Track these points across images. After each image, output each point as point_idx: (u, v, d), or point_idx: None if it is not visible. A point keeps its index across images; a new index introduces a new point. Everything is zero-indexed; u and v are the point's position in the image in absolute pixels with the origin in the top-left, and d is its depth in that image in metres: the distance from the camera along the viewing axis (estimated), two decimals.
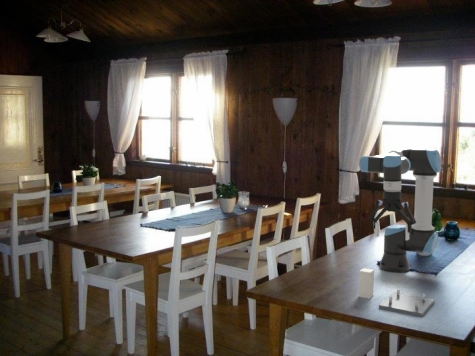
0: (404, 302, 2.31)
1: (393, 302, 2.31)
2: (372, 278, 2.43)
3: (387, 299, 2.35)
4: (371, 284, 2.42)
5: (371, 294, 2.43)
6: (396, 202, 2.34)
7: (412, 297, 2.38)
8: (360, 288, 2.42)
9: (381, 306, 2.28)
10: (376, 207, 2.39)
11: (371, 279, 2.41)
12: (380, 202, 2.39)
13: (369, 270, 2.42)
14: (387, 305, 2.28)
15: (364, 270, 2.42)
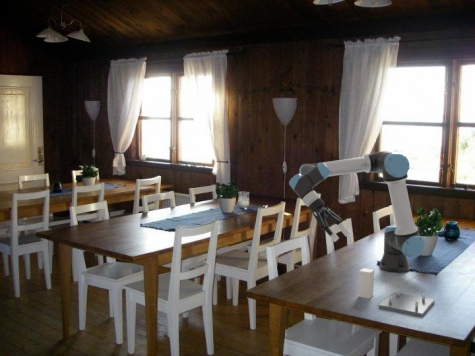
0: (404, 302, 2.31)
1: (393, 302, 2.31)
2: (372, 278, 2.43)
3: (387, 299, 2.35)
4: (371, 284, 2.42)
5: (371, 294, 2.43)
6: None
7: (412, 297, 2.38)
8: (360, 288, 2.42)
9: (381, 306, 2.28)
10: None
11: (371, 279, 2.41)
12: None
13: (369, 270, 2.42)
14: (387, 305, 2.28)
15: (364, 270, 2.42)
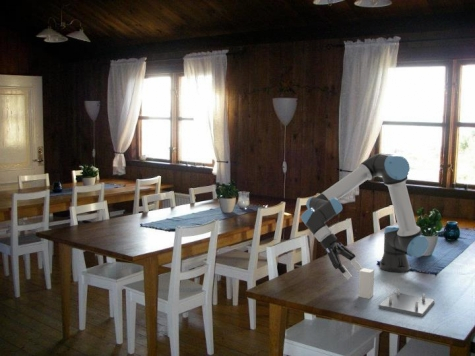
0: (404, 302, 2.31)
1: (393, 302, 2.31)
2: (372, 278, 2.43)
3: (387, 299, 2.35)
4: (371, 284, 2.42)
5: (371, 294, 2.43)
6: None
7: (412, 297, 2.38)
8: (360, 288, 2.42)
9: (381, 306, 2.28)
10: None
11: (371, 279, 2.41)
12: None
13: (369, 270, 2.42)
14: (387, 305, 2.28)
15: (364, 270, 2.42)
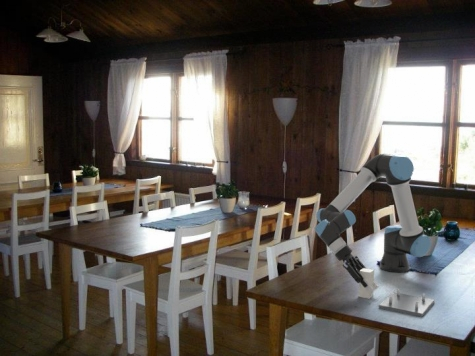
0: (404, 302, 2.31)
1: (393, 302, 2.31)
2: (372, 278, 2.43)
3: (387, 299, 2.35)
4: (371, 284, 2.42)
5: (371, 293, 2.43)
6: None
7: (412, 297, 2.38)
8: (360, 288, 2.42)
9: (381, 306, 2.28)
10: None
11: (371, 279, 2.41)
12: None
13: (369, 270, 2.42)
14: (387, 305, 2.28)
15: (364, 270, 2.42)
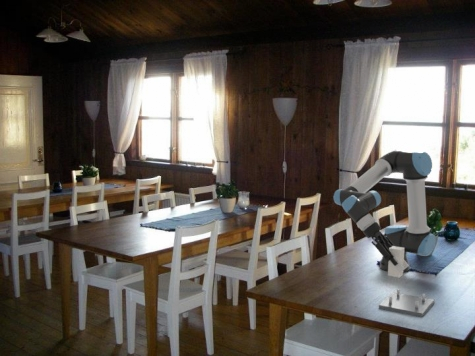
0: (404, 302, 2.31)
1: (393, 302, 2.31)
2: (403, 256, 2.31)
3: (387, 299, 2.35)
4: (401, 262, 2.30)
5: (401, 272, 2.31)
6: None
7: (412, 297, 2.38)
8: (389, 266, 2.31)
9: (381, 306, 2.28)
10: None
11: (401, 257, 2.30)
12: None
13: (399, 248, 2.31)
14: (387, 305, 2.28)
15: (394, 248, 2.31)
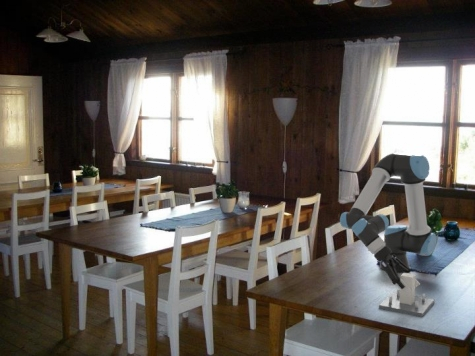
0: None
1: (393, 302, 2.31)
2: (414, 283, 2.31)
3: (387, 299, 2.35)
4: (413, 289, 2.30)
5: (413, 299, 2.31)
6: None
7: None
8: (401, 294, 2.30)
9: (381, 306, 2.28)
10: None
11: (413, 284, 2.29)
12: None
13: (410, 275, 2.30)
14: (387, 305, 2.28)
15: (405, 275, 2.30)
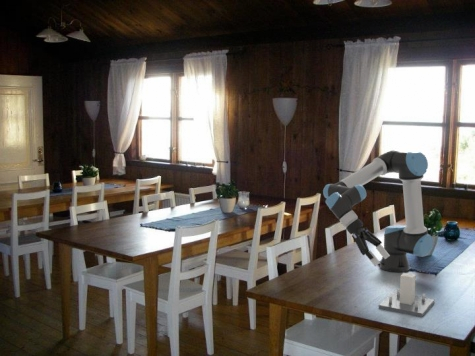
0: None
1: (393, 302, 2.31)
2: (414, 283, 2.31)
3: (387, 299, 2.35)
4: (413, 289, 2.30)
5: (413, 299, 2.31)
6: None
7: None
8: (401, 294, 2.30)
9: (381, 306, 2.28)
10: None
11: (413, 284, 2.29)
12: None
13: (410, 275, 2.30)
14: (387, 305, 2.28)
15: (405, 275, 2.30)
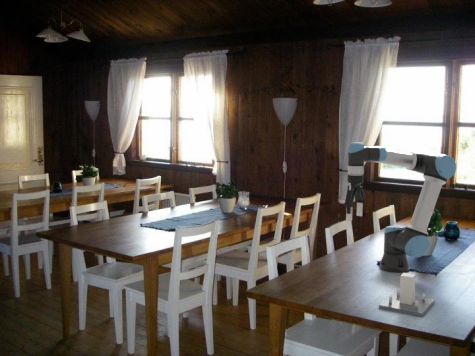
0: None
1: (393, 302, 2.31)
2: (414, 283, 2.31)
3: (387, 299, 2.35)
4: (413, 289, 2.30)
5: (413, 299, 2.31)
6: None
7: None
8: (401, 294, 2.30)
9: (381, 306, 2.28)
10: None
11: (413, 284, 2.29)
12: None
13: (410, 275, 2.30)
14: (387, 305, 2.28)
15: (405, 275, 2.30)
